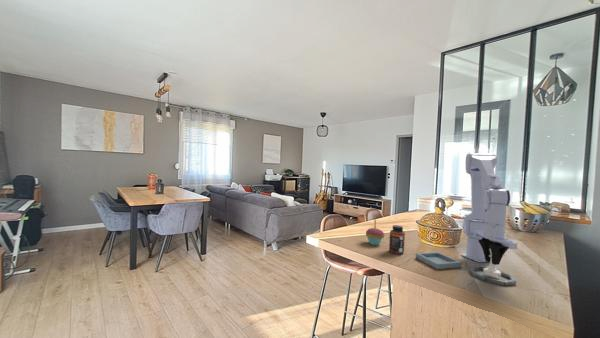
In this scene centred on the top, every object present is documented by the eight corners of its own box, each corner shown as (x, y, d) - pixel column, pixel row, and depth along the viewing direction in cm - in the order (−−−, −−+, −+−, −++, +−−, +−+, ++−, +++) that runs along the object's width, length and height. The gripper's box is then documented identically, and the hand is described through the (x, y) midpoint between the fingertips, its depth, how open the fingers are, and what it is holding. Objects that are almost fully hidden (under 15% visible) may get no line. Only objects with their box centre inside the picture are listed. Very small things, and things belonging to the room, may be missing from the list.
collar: (487, 268, 93) (487, 265, 93) (523, 283, 81) (523, 280, 81) (462, 270, 89) (462, 267, 89) (496, 287, 78) (496, 283, 78)
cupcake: (364, 240, 122) (365, 215, 122) (382, 241, 121) (383, 217, 121) (366, 245, 113) (367, 219, 113) (385, 247, 112) (387, 221, 112)
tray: (437, 256, 103) (437, 251, 103) (461, 267, 92) (461, 262, 92) (415, 258, 100) (416, 253, 100) (437, 269, 90) (437, 264, 89)
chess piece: (505, 276, 83) (505, 246, 83) (489, 275, 83) (490, 245, 83) (494, 270, 87) (495, 242, 88) (479, 269, 88) (480, 241, 88)
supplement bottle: (405, 255, 103) (406, 228, 103) (390, 253, 104) (391, 227, 104) (402, 250, 109) (403, 225, 108) (388, 249, 110) (389, 223, 110)
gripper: (526, 229, 78) (523, 271, 79) (486, 218, 93) (484, 254, 93) (506, 229, 77) (504, 272, 78) (469, 218, 92) (467, 254, 92)
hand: (492, 262), depth 85 cm, fingers closed on chess piece, 2 cm apart
